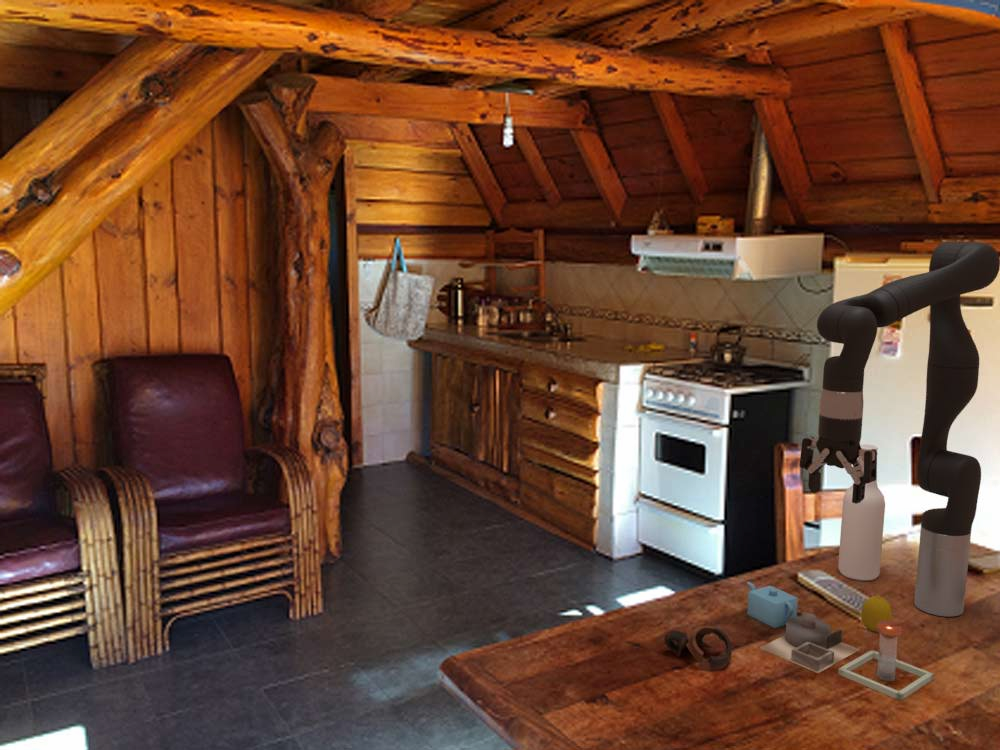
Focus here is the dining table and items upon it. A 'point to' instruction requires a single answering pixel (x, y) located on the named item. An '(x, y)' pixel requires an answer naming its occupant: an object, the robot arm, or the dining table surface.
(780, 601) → the teapot
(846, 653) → the pulley board
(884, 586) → the dining table surface
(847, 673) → the tray
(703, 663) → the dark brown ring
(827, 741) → the dining table surface
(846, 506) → the alcohol
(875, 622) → the lemon
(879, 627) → the pin
